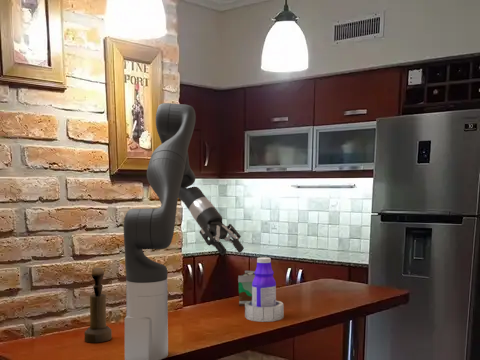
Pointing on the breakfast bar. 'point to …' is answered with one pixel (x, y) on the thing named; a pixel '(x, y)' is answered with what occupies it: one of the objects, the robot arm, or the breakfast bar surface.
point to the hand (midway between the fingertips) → (233, 251)
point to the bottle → (264, 284)
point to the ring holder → (264, 312)
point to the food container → (245, 287)
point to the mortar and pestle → (98, 312)
